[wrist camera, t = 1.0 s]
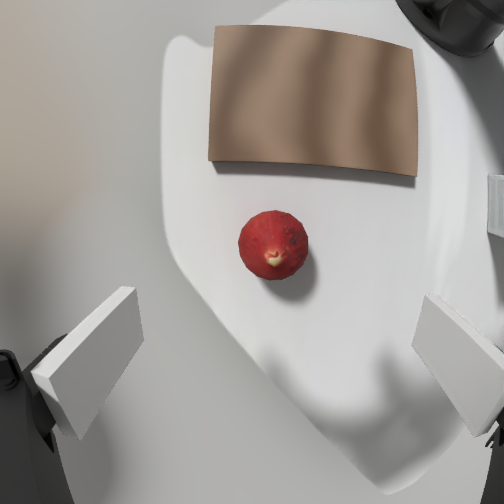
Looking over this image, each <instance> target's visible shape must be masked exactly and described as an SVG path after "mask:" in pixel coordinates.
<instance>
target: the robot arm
mask: <svg viewBox="0 0 504 504" xmlns="http://www.w3.org/2000/svg"><path fill="white" fill-rule="evenodd" d="M396 1H397V3H398V5H399V6H400V8H401V9H402V11H403V12H404V13H405V15H406V16H407V17H408V18H409V19H410V21H411V22H412V23H413V24H414V25H415V26H416V27H417V28H418V29H419V30H420V31H421V32H422V33H423V34H425V35H426V36H427V37H428V38H429V39H431V40H432V41H433V42H435V43H436V44H438V45H439V46H441V47H442V48H444V49H446V50H448V51H449V52H452V53H454V54H456V55H459V56H464V57H474V56H477V55H479V54H482V53H484V52H486V51H487V50H489V49H490V48H491V46H492V45H493V43H494V40H495V39H496V38H497V37H498V36H499V35H500V34H501V32H502V31H503V30H504V0H396ZM143 341H144V338H143V331H142V325H141V319H140V313H139V306H138V298H137V291H136V288H135V287H123V286H121V287H120V288H119V289H118V290H117V291H115V292H114V293H113V294H112V295H111V296H110V297H109V298H108V299H106V300H105V301H104V302H103V303H102V304H101V305H100V306H99V307H97V308H96V309H95V310H94V311H93V312H92V313H91V314H90V315H89V316H88V317H86V318H85V319H84V320H83V321H82V322H81V323H80V324H79V325H78V326H77V327H76V328H75V329H73V330H72V331H71V332H70V333H69V334H65V335H63V336H61V337H59V338H57V339H56V340H55V341H54V342H52V343H51V345H49V346H48V348H46V349H45V350H44V351H43V352H42V354H40V355H39V356H38V357H37V358H36V359H35V360H34V361H33V362H32V363H31V364H30V365H28V366H27V367H26V369H24V370H23V371H21V369H20V367H19V364H18V362H17V359H16V357H15V355H14V353H13V352H12V351H9V350H0V504H74V502H73V499H72V496H71V493H70V490H69V487H68V484H67V480H66V477H65V474H64V470H63V467H62V463H61V459H60V455H59V452H58V447H57V443H56V438H55V435H54V433H53V431H52V428H53V426H54V425H55V423H56V424H57V425H58V427H59V429H60V431H61V432H62V434H63V435H66V436H68V437H71V438H73V439H76V440H79V441H81V439H82V437H83V436H84V434H85V432H86V431H87V429H88V428H89V426H90V424H91V423H92V421H93V419H94V418H95V416H96V414H97V412H98V411H99V410H100V408H101V406H102V405H103V403H104V402H105V400H106V398H107V397H108V395H109V394H110V392H111V390H112V389H113V387H114V386H115V384H116V382H117V381H118V379H119V378H120V376H121V375H122V373H123V372H124V370H125V369H126V367H127V365H128V364H129V362H130V361H131V359H132V358H133V356H134V354H135V353H136V352H137V350H138V349H139V347H140V346H141V344H142V343H143ZM411 346H412V347H413V348H414V350H415V351H416V352H417V354H418V355H419V356H420V358H421V359H422V361H423V362H424V363H425V365H426V366H427V368H428V369H429V370H430V372H431V373H432V375H433V376H434V377H435V379H436V380H437V382H438V383H439V385H440V386H441V388H442V389H443V390H444V392H445V393H446V395H447V396H448V398H449V399H450V401H451V402H452V404H453V405H454V407H455V408H456V410H457V412H458V413H459V415H460V416H461V418H462V419H463V421H464V422H465V424H466V426H467V427H468V429H469V430H470V432H471V434H472V435H473V437H474V438H475V437H478V436H480V435H482V434H485V433H487V432H488V431H489V430H490V428H491V427H492V425H493V424H494V422H495V421H497V422H498V424H499V426H498V428H497V429H496V430H495V432H494V433H493V435H492V436H491V437H490V439H489V440H488V441H487V443H486V445H485V447H487V446H488V445H489V444H490V443H491V441H494V442H493V444H492V446H491V447H490V448H493V449H492V455H491V461H490V466H489V471H488V475H487V480H486V484H485V488H484V492H483V495H482V499H481V503H480V504H504V353H503V351H501V350H500V349H499V348H498V347H497V346H496V345H495V344H493V343H492V342H491V341H490V340H489V339H488V338H487V337H485V336H484V335H483V334H482V333H481V332H480V331H479V330H478V329H477V328H476V327H474V326H473V325H472V324H471V323H470V322H469V321H468V320H466V319H465V318H464V317H463V316H462V315H461V314H460V313H458V312H457V311H456V310H455V309H454V308H453V307H451V306H450V305H449V304H448V303H447V302H445V301H444V300H443V299H442V298H441V297H439V296H438V295H425V297H424V302H423V306H422V310H421V313H420V317H419V321H418V325H417V328H416V332H415V335H414V338H413V341H412V345H411Z"/></svg>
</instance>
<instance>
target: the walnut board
mask: <svg viewBox="0 0 504 504" xmlns="http://www.w3.org/2000/svg"><path fill="white" fill-rule="evenodd" d="M208 161H239V162H273V163H293V164H309V165H322V166H334V167H344V168H354V169H363V170H371V171H379V172H387V173H394V174H401V175H407V176H417V167H418V110H417V92H416V79H415V69H414V60H413V52H412V49H409V48H406V47H403V46H399V45H395V44H392V43H388V42H384V41H380V40H376V39H371V38H367V37H362V36H357V35H352V34H347V33H341V32H335V31H328V30H320V29H312V28H302V27H290V26H272V25H230V26H229V25H228V26H216V27H215V37H214V50H213V64H212V80H211V98H210V120H209V150H208Z"/></svg>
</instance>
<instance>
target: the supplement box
mask: <svg viewBox="0 0 504 504" xmlns="http://www.w3.org/2000/svg"><path fill="white" fill-rule="evenodd" d="M487 230H488V232H489V233H491V234H494V235H497V236H499V237H502V238H504V175H495V174H489V175H488V228H487Z"/></svg>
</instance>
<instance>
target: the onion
mask: <svg viewBox="0 0 504 504" xmlns="http://www.w3.org/2000/svg"><path fill="white" fill-rule="evenodd" d="M238 245H239V252H240V257H241V259H242V260H243V262H244V264H245V266H246V267H247V268H248V269H249V270H250V271H251V272H252V273H254V274H255V275H256V276H258V277H261V278H264V279H267V280H282V279H284V278H287V277H289V276H291V275H293V274H294V273H295V272H296V271H297V270H298V269H299V268H300V267H301V266H302V265H303V263H304V261H305V259H306V256H307V254H308V236H307V234H306V232H305V230H304V227H303V225H302V223H301V222H299V221H298V220H297V219H296V218H295V217H293V216H292V215H291V214H289V213H285V212H281V211H277V210H274V211H267V212H262V213H260V214H258V215H256V216H255V217H253V218H251V219H250V220H249V221H248V222H247V224H246V225H245V226H244V227H243V228H242V230H241V234H240V237H239V240H238Z"/></svg>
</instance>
